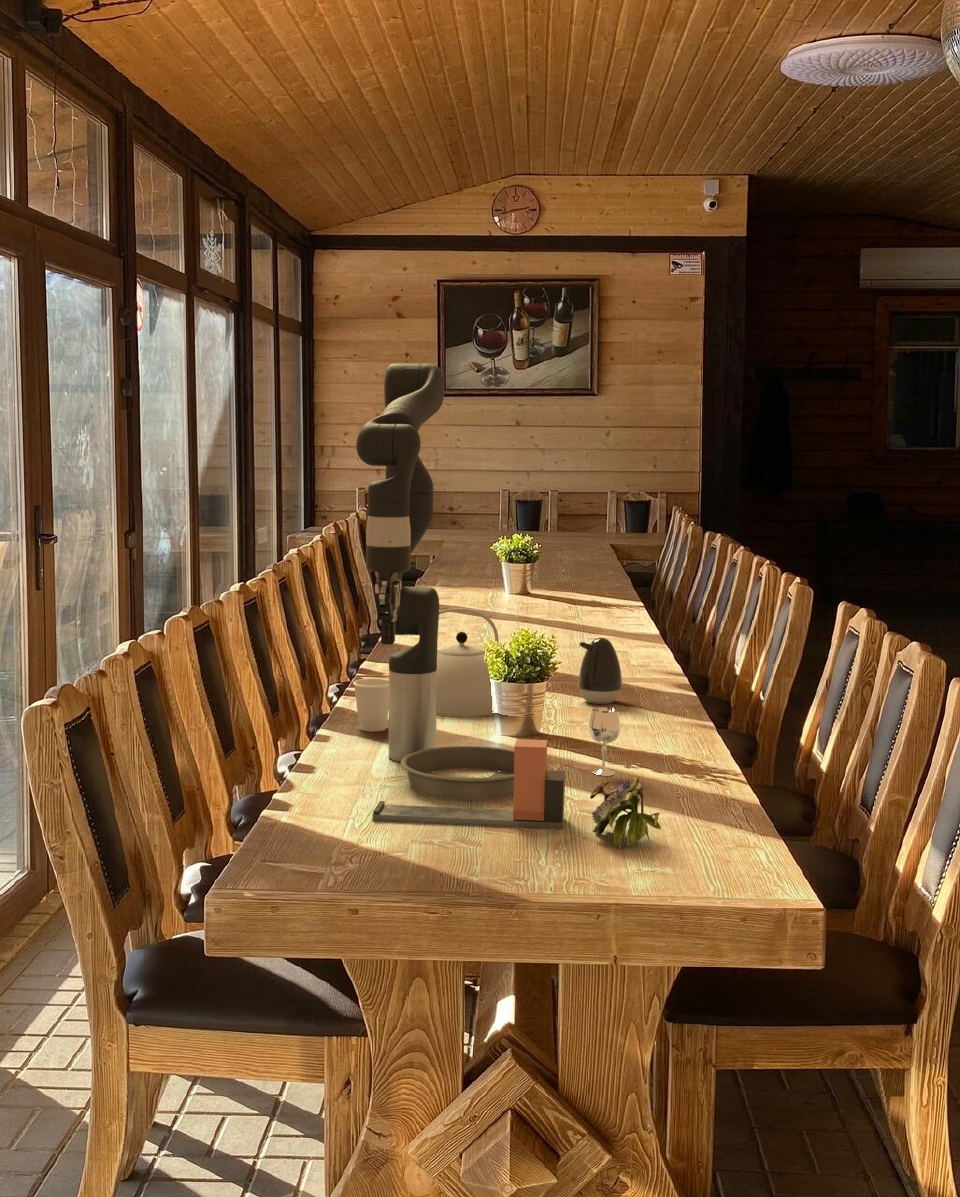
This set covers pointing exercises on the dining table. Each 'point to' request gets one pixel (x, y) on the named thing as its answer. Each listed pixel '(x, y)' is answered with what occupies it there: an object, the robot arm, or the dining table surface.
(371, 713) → the dixie cup
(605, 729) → the wineglass
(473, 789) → the cake pan
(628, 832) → the passion flower
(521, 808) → the block
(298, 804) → the dining table surface
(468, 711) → the kettle
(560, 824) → the rail
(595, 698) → the pump dispenser
